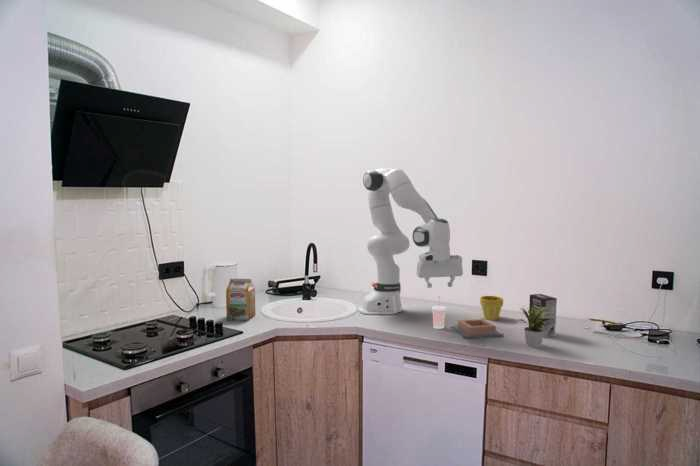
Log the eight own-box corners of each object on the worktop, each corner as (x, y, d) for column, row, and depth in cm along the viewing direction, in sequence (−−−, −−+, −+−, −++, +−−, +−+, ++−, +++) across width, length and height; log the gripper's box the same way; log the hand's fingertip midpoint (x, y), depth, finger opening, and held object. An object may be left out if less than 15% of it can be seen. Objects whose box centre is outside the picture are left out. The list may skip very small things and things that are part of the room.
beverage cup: (435, 324, 207) (436, 294, 206) (448, 326, 203) (448, 295, 202) (429, 327, 202) (429, 296, 201) (441, 330, 198) (442, 298, 197)
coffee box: (527, 331, 196) (528, 294, 194) (539, 330, 198) (540, 293, 197) (543, 337, 187) (544, 298, 186) (556, 336, 189) (557, 297, 188)
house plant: (515, 350, 172) (516, 307, 170) (507, 339, 185) (508, 299, 184) (555, 352, 170) (556, 308, 168) (544, 340, 183) (546, 300, 182)
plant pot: (498, 322, 210) (498, 301, 210) (476, 318, 217) (476, 298, 216) (505, 317, 218) (506, 297, 218) (484, 314, 225) (485, 294, 224)
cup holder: (466, 338, 186) (466, 329, 185) (451, 327, 201) (451, 318, 201) (503, 336, 188) (503, 327, 188) (485, 326, 204) (485, 317, 204)
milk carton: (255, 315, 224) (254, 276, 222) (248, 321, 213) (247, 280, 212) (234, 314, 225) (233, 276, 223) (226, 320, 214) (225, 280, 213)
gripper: (459, 254, 205) (459, 284, 206) (415, 255, 201) (415, 286, 202) (465, 255, 199) (465, 287, 200) (419, 257, 195) (420, 289, 196)
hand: (439, 287), depth 201 cm, fingers open, 8 cm apart
